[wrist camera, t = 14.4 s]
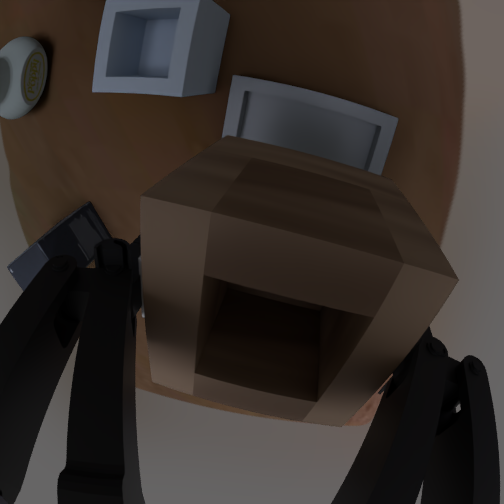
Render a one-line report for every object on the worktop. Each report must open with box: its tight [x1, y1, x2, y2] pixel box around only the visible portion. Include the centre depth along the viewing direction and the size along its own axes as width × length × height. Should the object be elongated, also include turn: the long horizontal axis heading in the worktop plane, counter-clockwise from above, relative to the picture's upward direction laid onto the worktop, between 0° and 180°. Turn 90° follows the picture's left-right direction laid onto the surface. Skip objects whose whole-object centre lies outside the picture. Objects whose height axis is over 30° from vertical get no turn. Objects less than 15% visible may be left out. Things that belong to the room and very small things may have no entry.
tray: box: [222, 75, 398, 176], centre depth 26 cm, size 14×14×2 cm
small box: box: [7, 202, 112, 291], centre depth 32 cm, size 11×6×10 cm, turn 116°
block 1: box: [92, 0, 230, 97], centre depth 20 cm, size 8×8×8 cm
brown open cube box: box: [140, 135, 459, 427], centre depth 12 cm, size 8×8×8 cm
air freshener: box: [0, 37, 47, 119], centre depth 21 cm, size 11×8×10 cm
